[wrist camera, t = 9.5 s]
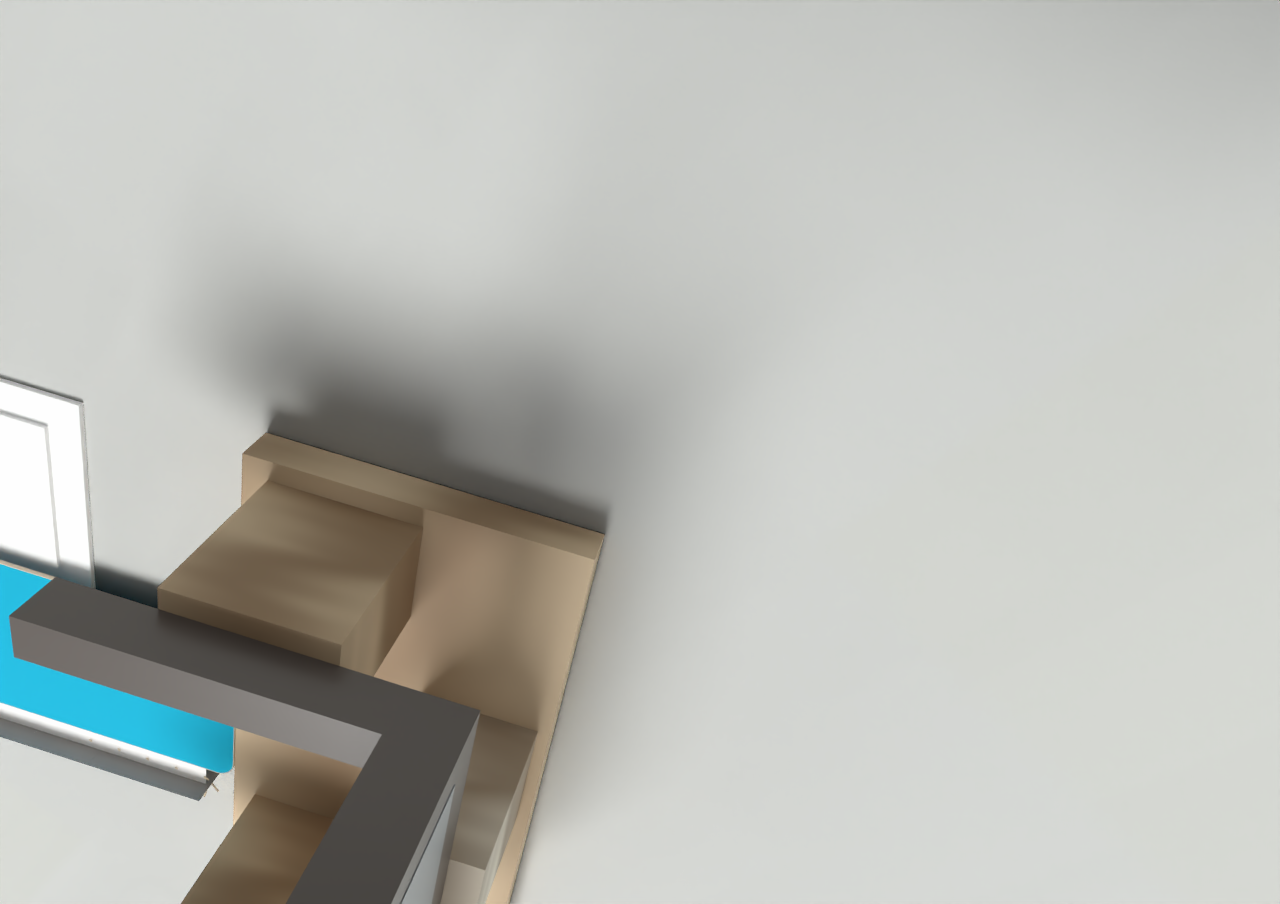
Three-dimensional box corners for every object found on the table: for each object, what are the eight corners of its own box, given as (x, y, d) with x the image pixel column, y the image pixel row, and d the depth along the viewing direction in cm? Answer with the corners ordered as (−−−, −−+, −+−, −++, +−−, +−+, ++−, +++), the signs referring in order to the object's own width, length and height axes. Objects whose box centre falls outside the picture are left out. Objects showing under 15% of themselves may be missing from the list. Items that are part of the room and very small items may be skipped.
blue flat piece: (427, 491, 23) (398, 530, 22) (380, 822, 29) (355, 869, 28) (-353, 254, 24) (-430, 276, 22) (-243, 622, 30) (-298, 658, 28)
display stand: (604, 534, 22) (545, 686, 18) (506, 913, 29) (446, 1089, 25) (266, 432, 22) (125, 556, 18) (250, 831, 29) (147, 989, 25)
